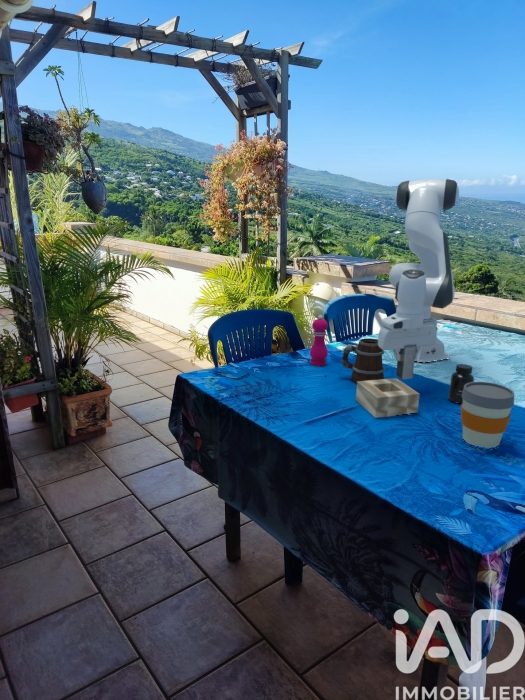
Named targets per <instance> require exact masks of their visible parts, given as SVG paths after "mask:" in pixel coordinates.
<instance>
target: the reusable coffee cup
mask: <svg viewBox="0 0 525 700" xmlns="http://www.w3.org/2000/svg"><path fill="white" fill-rule="evenodd" d="M462 398H463V404H460V422H461V424H462V440H463V439H464V440H465V441H466V442H467V443H469V444H472V445H475V446H479V447H485V448H491V447H496V446H498V445H499V446H500V443H501V441H502V437H503V434H504V432H505V431H506V430H507V428H508V425H509V422H510V418H511V417H512V413H511V410H512V407H514V405H515V392H514V391H513V390H512V389H511V388H509V387H507V386H505V385H501V384H498V383H493V382H487V381H474V382H470V383H467V384H465V385H464V389H463V392H462ZM464 440H463V441H464ZM467 443H466V444H467ZM499 446H498V447H499Z"/></svg>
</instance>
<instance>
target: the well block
mask: <svg viewBox="0 0 525 700" xmlns="http://www.w3.org/2000/svg"><path fill="white" fill-rule="evenodd" d="M355 401H357V403H358V404H360V405H361V406H362V407H363V408H364V409H365V410H366V411H368V412H369V413H370V415H372V416H373V417H374V418H375V419H376V418H378V419H379V418H388V417H396V415H399V416H403V415H402V414H408V415H411V414H410V413H417V414H418V410H419V401H420V393H419V392H418V391H416V390H414V389H413V388H412V387H410V386H409V385H407V384H406V383H405V382H402V381H401V380H399V379H398V378H397V377H395V378H394V377H393V378H384V379H380V380H368V381H357V384H356V394H355Z"/></svg>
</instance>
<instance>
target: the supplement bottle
mask: <svg viewBox="0 0 525 700" xmlns="http://www.w3.org/2000/svg"><path fill="white" fill-rule="evenodd" d="M472 373H473V366H472V365H469V364H466V363H459V364H456V365H455V371H454V372H453V373H452V374H451V377H450V383H449V389H448V396H447V397H448V400H449V399H450V400H451V401H454V402H458V403H463V398H462V392H463V389H464V385H465V384H467V383H470V382H475V377H474V375H473V374H472ZM450 400H449V401H450ZM451 401H450V402H451ZM454 402H453V403H454Z"/></svg>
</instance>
